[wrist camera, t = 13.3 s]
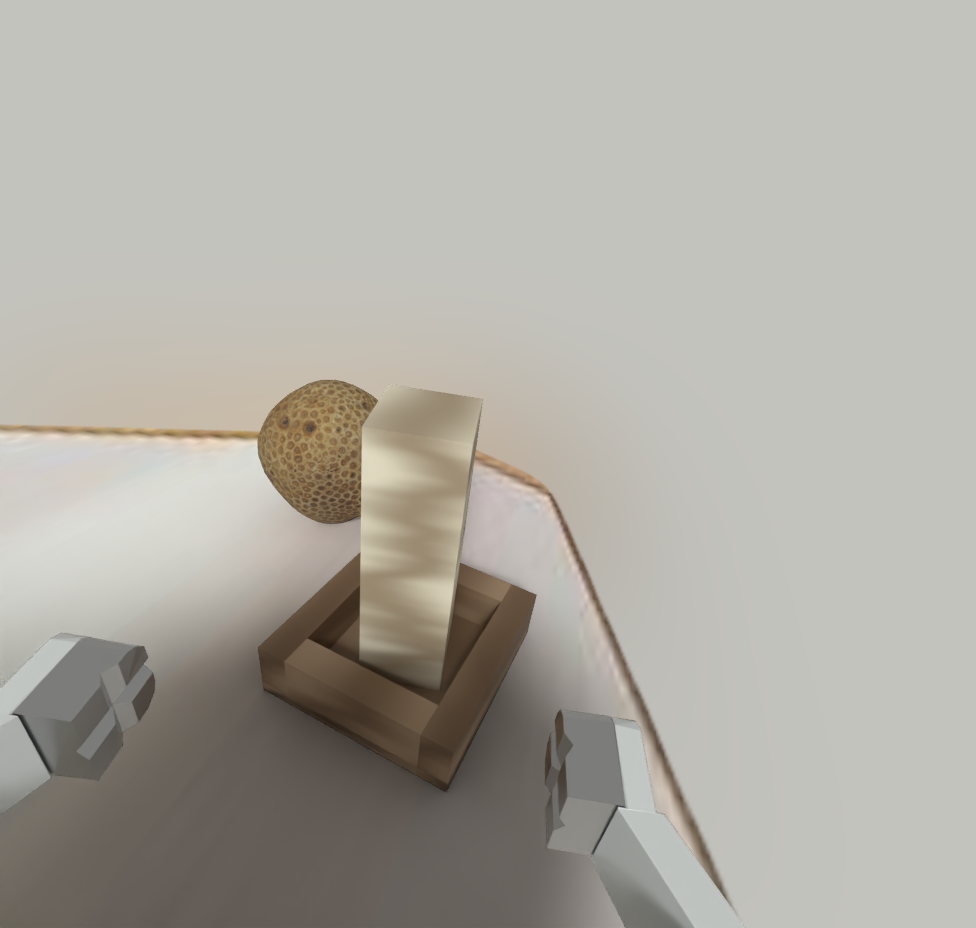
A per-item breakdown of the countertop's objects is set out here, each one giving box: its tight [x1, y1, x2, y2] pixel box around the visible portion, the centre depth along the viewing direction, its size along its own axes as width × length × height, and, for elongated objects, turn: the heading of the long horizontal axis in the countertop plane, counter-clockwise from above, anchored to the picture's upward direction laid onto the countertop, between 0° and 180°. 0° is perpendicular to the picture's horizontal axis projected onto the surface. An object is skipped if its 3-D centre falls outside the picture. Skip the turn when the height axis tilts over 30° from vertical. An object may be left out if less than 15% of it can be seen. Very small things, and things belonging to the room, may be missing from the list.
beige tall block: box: [359, 385, 483, 691], centre depth 24 cm, size 4×4×14 cm
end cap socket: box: [258, 552, 536, 792], centre depth 27 cm, size 10×10×3 cm
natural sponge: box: [258, 380, 378, 523], centre depth 35 cm, size 9×9×10 cm
